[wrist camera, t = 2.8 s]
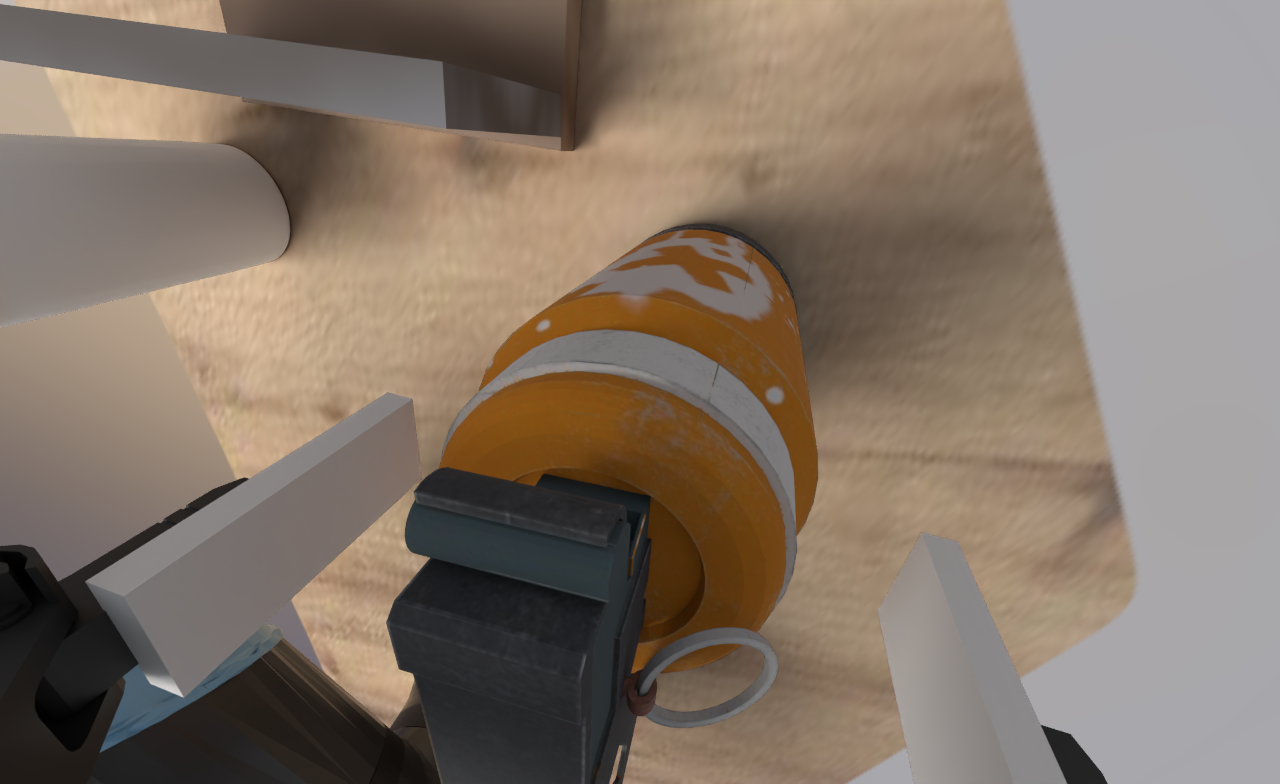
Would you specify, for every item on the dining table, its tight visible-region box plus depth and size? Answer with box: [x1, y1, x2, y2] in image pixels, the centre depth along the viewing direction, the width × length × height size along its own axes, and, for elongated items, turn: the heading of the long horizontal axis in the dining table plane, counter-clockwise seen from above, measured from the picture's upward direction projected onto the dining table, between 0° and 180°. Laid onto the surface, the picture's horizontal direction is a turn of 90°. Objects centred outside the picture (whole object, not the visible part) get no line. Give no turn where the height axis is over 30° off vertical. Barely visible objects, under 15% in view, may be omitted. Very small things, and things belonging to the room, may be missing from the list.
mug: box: [0, 134, 290, 327], centre depth 22 cm, size 10×7×12 cm, turn 88°
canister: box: [386, 224, 818, 784], centre depth 15 cm, size 9×11×20 cm
